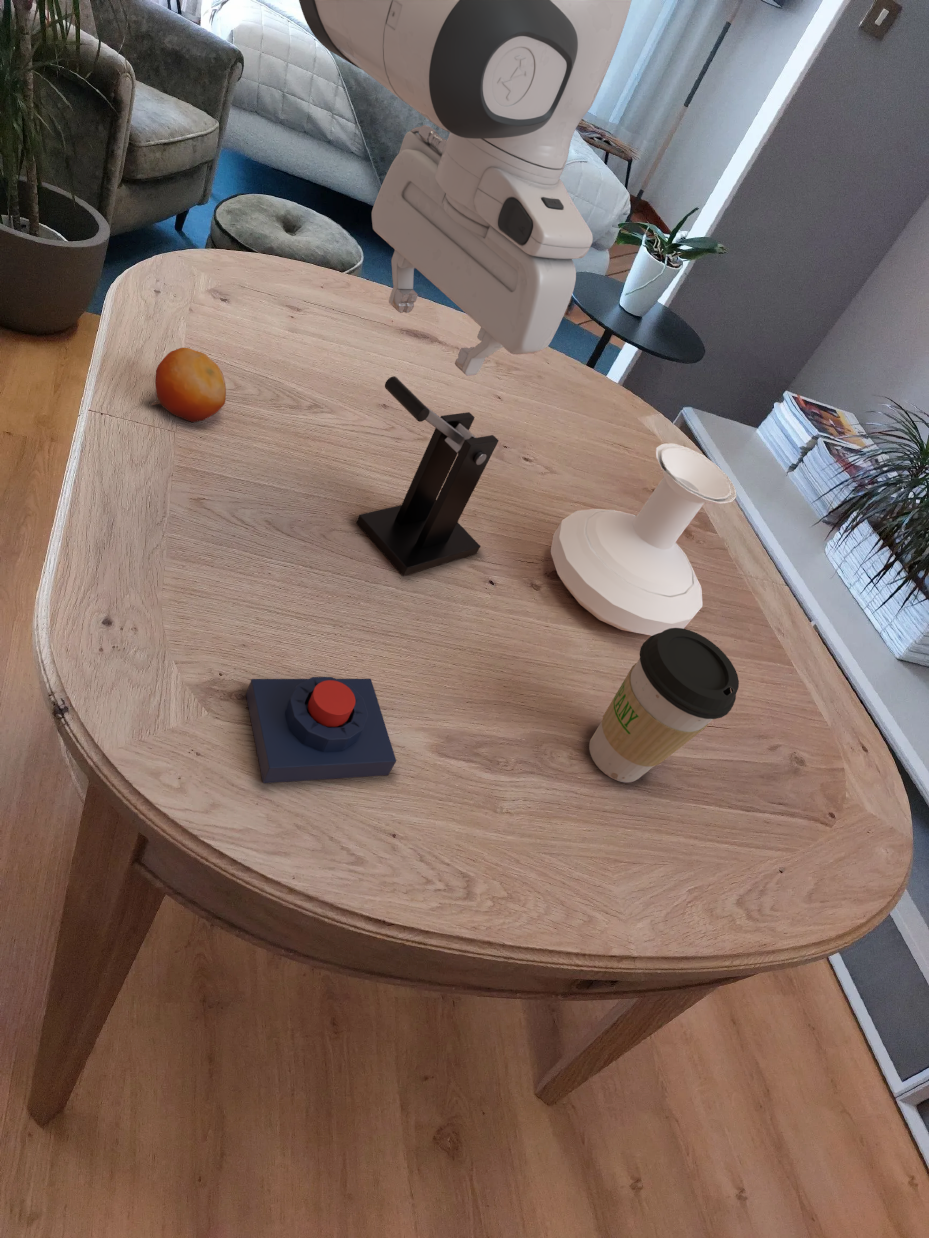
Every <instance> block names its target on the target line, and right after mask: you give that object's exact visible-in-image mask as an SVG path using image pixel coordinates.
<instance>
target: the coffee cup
mask: <svg viewBox="0 0 929 1238" xmlns="http://www.w3.org/2000/svg"><path fill="white" fill-rule="evenodd" d="M739 686H740V681H739V675H738V673H737V670H736V668H735V666H734V663H732V661H731V659H730V658H729V657H728V656H727V654H726V653H724V652H723V651H722V649H721V648H720V647H718V646H717V645H716V644H715V643H713V642H712V641H711V640H710V639H709V638H707V637H705V636H703V635H701V634H700V633H698V632H695V631H693V630H690V629H686V628H684V629H683V628H669V629H667V630H664V631H663V632H661V633H658V634H655V635H653V636H651V635H650V637H648V638H647V639H646V640H645V641H644V642H643V643H642V645H641V647H640V649H639V658H638V660H637V662H636V663H634V664H633V665H632V666H631V668H630V670H629V672H628V673H627V675H626V676H625V678H624V680H623V682H622V683H621V685H620V686H619V689H618V690H617V692H616V693H615V695H614V697H613V698H612V699H611V702H610V704H609V705H608V707H607V708H606V710H605V712H604V714H603V716H602V718H601V721H600V722H599V725H598V727H597V728H596V730H595V732H594V733H593V734H592V736H591V738H590V740H589V742H588V743H589V744H588V749H589V754H590V757H591V759H592V761H593V763H594V764H595V765H596V767H597V768H598V770H600V771H601V772H602V773H603V774H604V775H606V776H607V777H609V778H611V779H613V780H615V781H616V782H617V781H618V782H621V783H632V782H635V781H637V780H639V779H640V778H641V777H642V776H644V775H646V773H648V772H649V771H650V770H651V769H653V768H654V767H655V766H658V765H660V764H661V763H663V762H664V761H665V760H666V759H668V758H669V757H671V756H672V755H673V754H674V753H676V752H677V751H678V750H679V749H681V748H682V747H683V746H684V745H686V744H687V743H688V742H689V741H691V740H692V739H693V738H695V737H696V736H697V735H698V734H699V733H702V731H704V730H705V729H706V728H707V726H709V723H711V722H712V721H714V720H716V719H717V720H718V719H722V718H723V717H725V716H727V715H728V714H729V713H730V711H731V710H732V708H733V707H734V705H735V702H736V700H737V699H736V698H737V693H738V690H739Z"/></svg>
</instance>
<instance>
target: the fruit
mask: <svg viewBox="0 0 929 1238" xmlns="http://www.w3.org/2000/svg"><path fill="white" fill-rule="evenodd" d="M154 381H155V393H156V400H155V401H153V402H151V403H150V406H154V405H161V406H162V407H163V408H164V409H166V410H167V411H168V412H169V413H170V414H171V415H174V416H176V417H178V418H181V419H183V420H185V421H188V422H191V423H196V422H203V421H204V420H207V419H209V418H210V417H212V416H214V415H215V414H216V413H218V412H219V411H220V410H221V409H222V408H223V406H225V404H226V398H227V397H226V396H227V386H226V380H225V377H224V374H223V371H222V369H221V368H220V367H219V366H218V364H217V363H216V362H215V361H214V360H212V359H211V358H210V357H209V356H208V355H207V354H206V353H204V352H202V351H198V350H195V349H192V348H189V347H180V348H177V349H174V350H172V351H169V352H168V353H167V354H166V355H165V356H164V358H163V359H162V360H161V361H160V362H159V364H158V365H157V366H156V369H155V379H154Z"/></svg>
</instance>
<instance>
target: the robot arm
mask: <svg viewBox="0 0 929 1238" xmlns="http://www.w3.org/2000/svg"><path fill="white" fill-rule="evenodd" d="M298 2H299V7H300V10H301V12H302V15H303V18H304V20H305V22H306V24H307V26H308V28H309V30H310V31H311V33H312V34H313V36H314V37H315V39H316V40H317V41H318V42H319V43H320V44H321V45H322V46H323V47H324V48H325V49H326V50H327V51H329V52H331V53H333V54H334V55H336V56H337V57H339V58H340V59H343V60H344V61H346V62H348V63H349V64H351V65H352V66H354V67H356V68H358V69H360V70H362V71H363V72H364V73H365V74H367V75H368V76H369V77H371V78H372V79H373V80H375V81H376V82H377V83H378V84H380V85H381V86H383V88H386V90H388V91H389V92H391V93H392V94H393V95H394V96H395V97H397V98H398V99H399V100H401V101H402V102H403V103H405V104H407V106H410V107H411V108H412V109H413V110H415V111H416V112H418V113H419V115H421V116H423V117H424V118H425V119H426V120H428V121H430V122H431V123H432V124H433V125H434V126H436V127H438V128H440V129H441V130H443V131H446V132H448V133H449V134H448V137H447V139H445V138H443V137H441V135H439V134H438V132H437V131H436V130H435V129H434V128H433V127H431V126H429V125H426V124H422V125H421V126H416V127H413V128H412V129H411V130H410V131H406V133H405V135H404V137H403V139H402V142H401V145H400V147H399V148H400V149H399V151H398V153H397V155H396V156H395V158H394V159H393V161H392V163H391V165H390V166H389V169H388V171H387V173H386V174H385V177H384V179H383V181H382V183H381V186H380V189H379V191H378V193H377V195H376V199H375V201H374V204H373V207H372V210H371V223H372V224H371V226H372V230H373V231H374V232H375V233H376V234H377V235H378V236H379V237H380V238H381V239H382V240H384V241H385V242H386V243H387V244H388V245H389V246H390V247H391V248H393V249H394V250H393V253H392V257H391V261H390V262H391V277H392V285H393V287H392V288H391V292H390V295H389V298H388V304H390V306H391V307H393V308H394V309H395V310H396V311H397V312H398V313H400V314H402V313H405V314H407V313H408V314H409V313H410V312H412V311H413V309H414V307H415V303H416V301H417V300H418V296H419V294H418V293H417V292H416V291H415V290H414V279H415V278H414V277H415V275H414V273H415V269H416V271H418V272H419V273H420V274H422V275H423V276H424V277H425V278H426V279H427V280H428V281H429V282H430V283H431V284H433V285H434V287H436V288H437V289H438V290H440V292H441V293H442V294H443V295H445V296H446V297H447V298H448V299H449V300H451V301H452V302H453V304H455V305H456V306H457V307H458V308H459V309H460V310H461V311H463V312H464V313H465V314H466V315H467V316H468V317H469V318H470V319H472V320H473V321H474V322H475V323H476V324H477V325H478V326H479V327H480V329H479V330H478V334H477V336H476V337H477V339H478V340H479V341H480V342H479V343H478V344H477V345H475V346H470V347H461V348H460V350H459V352H458V354H457V358H456V359H455V361H454V365H455V366H456V367H457V368H458V369H459V370H460V371H461V372H462V373H463V374H464V375H465V376H467V377H468V376H476V375H478V373H479V372H480V371H481V369H482V367H483V365H484V362H485V360H486V358H489V357H490V356H492V355H493V354H495V353H496V352H498V351H499V350H501V349H503V348H504V349H505V350H506V351H507V352H508V353H510V354H512V355H531V354H536V353H539V352H541V351H543V350H545V349H546V348H547V347H549V345H550V344H551V342H552V341H553V340H554V339H553V338H554V337H555V335H556V333H557V331H558V329H559V327H560V325H561V323H562V320H563V318H564V316H565V313H566V311H567V308H568V306H569V303H570V301H571V299H572V296H573V294H574V289H575V287H576V281H577V269H576V266H575V263H574V260H576V259H584V257H585V256H586V255H587V254H588V252H589V251H590V248H591V246H592V244H593V240H594V237H593V233H592V231H591V229H590V227H589V225H588V224H587V222H586V221H585V219H584V218H583V216H582V214H581V212H580V211H579V210H578V208H577V206H576V205H575V203H574V201H573V199H572V198H571V196H570V194H569V192H568V189H567V188H566V186H565V184H564V182H563V181H562V179H560V178H561V176H562V174H563V171H564V169H565V167H566V164H567V161H568V158H569V155H570V147H571V142H572V139H573V136H574V133H575V131H576V129H577V127H578V125H579V124H580V122H581V121H582V119H584V117H585V116H586V114H587V113H588V112H589V110H590V109H591V108H592V106H593V104H594V102H595V100H596V98H597V95H598V94H599V90H600V89H601V86H602V85H603V83H604V81H605V77H606V75H607V73H608V70H609V68H610V65H611V63H612V60H613V58H614V56H615V52H616V50H617V48H618V45H619V42H620V39H621V36H622V34H623V31H624V28H625V25H626V21H627V18H628V15H629V12H630V7H631V3H632V0H298Z"/></svg>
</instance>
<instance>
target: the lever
mask: <svg viewBox="0 0 929 1238" xmlns="http://www.w3.org/2000/svg"><path fill="white" fill-rule="evenodd" d="M384 389H385V390H386V391H387V392H388V393H389V394H390V395H391V396H392V397H393V398H394V399H395V400H396V401H397V402H398V403H399V404H400V405H401V406H402V407H403V408H404V409H405V410H406V411H407V412H408V413H409V414H410V415H411V416H412V417H413V418H414V419H415V420H416V421H417V422H419V423H421V422H424V421H425V422H427V423H428V424H430V426H433V427H434V429H435V428H437V429H438V430H439V431H441V432H442V433H443V434H445V435H446V436H447V438H446V439H445V441H446V442H447V443H448V444H449V445H450V446H451V447H452V448H453V449H454V450H455V451H456V452H457V453H459V451H460V449H461V447H462V445H463V443H464V441H465V440H466V439H472V438H477V436H476V435H474V434H473V432H471V431H470V429H469V430H468V429H466V428H465V427H464V426H463V425H461V424H460V423H459V424H458V425H457V427H456V428H453V427H452V426H451V425H450V424H448V423H447V422H446V421H444V420H443V419H442V418H441V416H440V415H438V414H437V413H435V412H434V411H433V410H432V409H431V408H429V407H428V406H426V404H424V403H423V402H422V401H421V400H420V399H419V398H418V397H417V396H416V395H415V394H414V393H413V392H412V391H411V390H410V389H409V388H408V387H407V386H406V385H405V384H404V383H403V382H402V381H401V380H400V379H399V378H398V377H397V376H396V375H395V376H390V377H388V379H386V381H385V383H384Z"/></svg>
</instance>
